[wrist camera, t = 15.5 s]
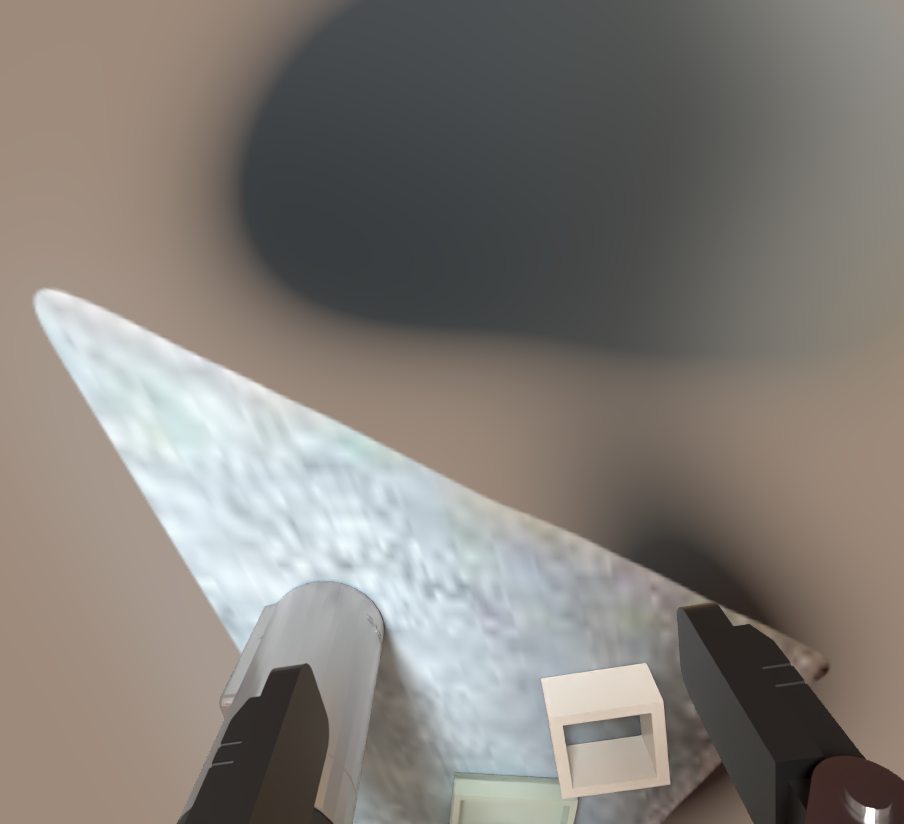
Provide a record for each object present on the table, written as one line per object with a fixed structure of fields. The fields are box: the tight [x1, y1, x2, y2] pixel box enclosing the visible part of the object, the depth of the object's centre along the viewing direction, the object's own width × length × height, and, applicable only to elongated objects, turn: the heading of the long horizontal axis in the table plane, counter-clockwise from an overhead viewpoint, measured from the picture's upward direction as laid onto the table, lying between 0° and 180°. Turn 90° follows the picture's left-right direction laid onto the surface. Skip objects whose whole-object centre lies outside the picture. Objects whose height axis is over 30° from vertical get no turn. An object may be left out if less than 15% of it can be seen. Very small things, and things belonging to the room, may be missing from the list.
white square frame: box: [541, 663, 670, 799], centre depth 47 cm, size 9×9×4 cm
